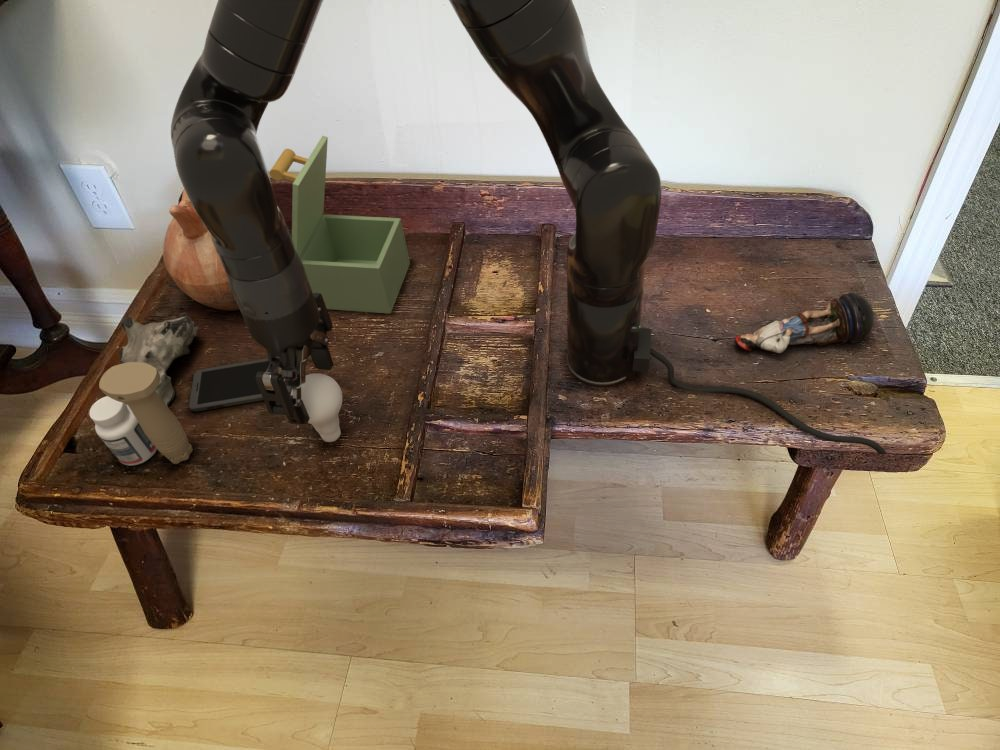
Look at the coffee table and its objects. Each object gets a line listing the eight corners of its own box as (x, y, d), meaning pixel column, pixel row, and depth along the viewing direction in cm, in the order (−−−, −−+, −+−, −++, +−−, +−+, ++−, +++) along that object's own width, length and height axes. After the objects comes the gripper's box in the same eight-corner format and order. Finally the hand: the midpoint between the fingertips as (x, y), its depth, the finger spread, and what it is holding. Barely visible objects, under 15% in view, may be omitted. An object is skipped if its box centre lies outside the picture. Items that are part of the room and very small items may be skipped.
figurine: (886, 308, 91) (738, 327, 94) (881, 352, 95) (738, 369, 98) (864, 280, 98) (726, 298, 100) (860, 323, 101) (727, 340, 104)
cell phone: (293, 395, 99) (291, 392, 99) (189, 413, 98) (187, 409, 98) (294, 356, 104) (292, 353, 103) (195, 373, 103) (193, 369, 103)
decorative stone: (185, 407, 98) (137, 357, 91) (129, 419, 100) (78, 370, 94) (221, 327, 109) (180, 276, 102) (170, 339, 111) (127, 290, 105)
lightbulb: (358, 417, 96) (338, 361, 88) (353, 455, 92) (332, 400, 84) (312, 420, 96) (288, 364, 88) (305, 459, 92) (280, 403, 84)
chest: (410, 263, 116) (400, 218, 110) (390, 313, 109) (379, 268, 102) (335, 259, 118) (321, 214, 112) (311, 308, 111) (294, 263, 104)
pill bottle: (145, 427, 97) (114, 384, 91) (167, 446, 95) (137, 403, 88) (110, 453, 95) (75, 410, 88) (131, 473, 93) (97, 431, 86)
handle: (196, 471, 92) (144, 395, 81) (149, 468, 93) (91, 392, 82) (211, 441, 95) (163, 363, 84) (165, 438, 96) (112, 360, 85)
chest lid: (327, 137, 101) (291, 125, 101) (298, 185, 94) (259, 173, 93) (323, 212, 111) (290, 202, 111) (296, 261, 104) (261, 251, 104)
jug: (276, 330, 108) (229, 220, 93) (165, 323, 111) (102, 215, 96) (316, 251, 120) (280, 141, 105) (214, 246, 123) (165, 139, 108)
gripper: (282, 344, 70) (323, 444, 82) (330, 251, 79) (360, 353, 91) (210, 338, 71) (261, 438, 84) (265, 246, 81) (304, 348, 93)
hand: (313, 393), depth 87 cm, fingers open, 8 cm apart
